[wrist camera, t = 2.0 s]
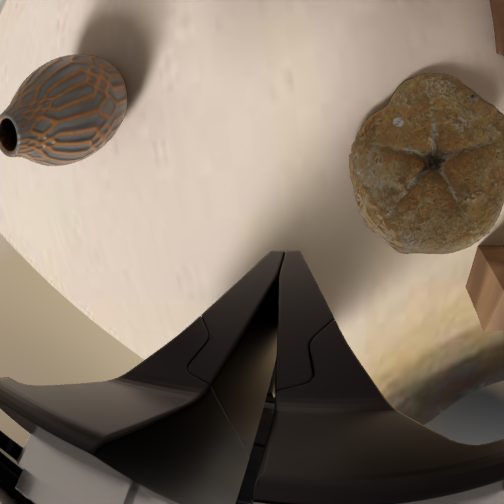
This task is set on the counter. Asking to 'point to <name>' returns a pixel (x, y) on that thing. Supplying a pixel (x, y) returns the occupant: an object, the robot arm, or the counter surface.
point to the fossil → (430, 167)
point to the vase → (64, 111)
